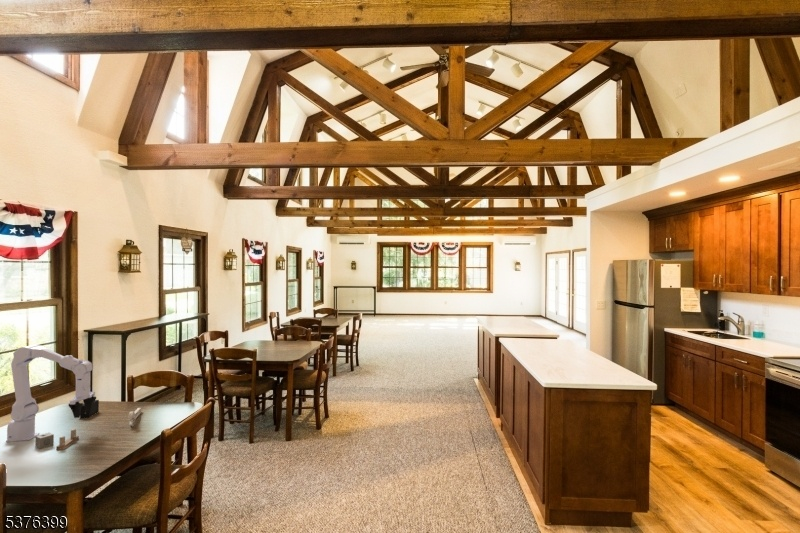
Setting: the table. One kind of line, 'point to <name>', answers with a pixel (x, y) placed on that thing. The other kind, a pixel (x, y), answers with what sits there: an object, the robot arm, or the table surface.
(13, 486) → the table surface
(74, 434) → the peg rack
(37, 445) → the dice cube
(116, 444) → the table surface
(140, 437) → the table surface
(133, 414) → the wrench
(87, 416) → the digital camera
